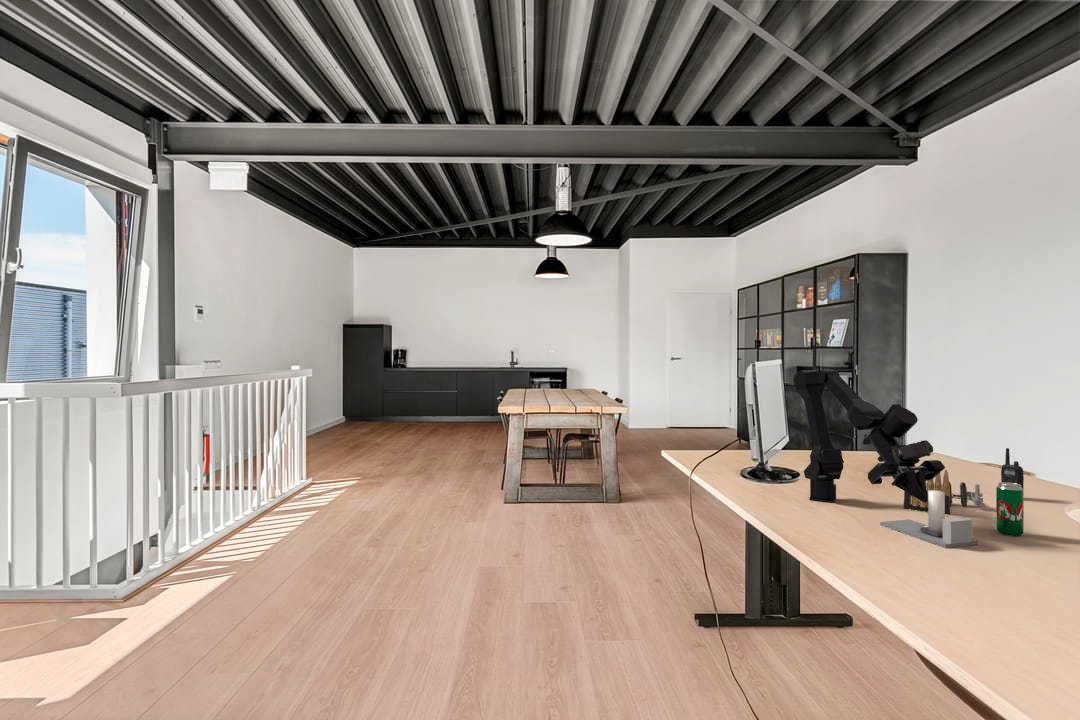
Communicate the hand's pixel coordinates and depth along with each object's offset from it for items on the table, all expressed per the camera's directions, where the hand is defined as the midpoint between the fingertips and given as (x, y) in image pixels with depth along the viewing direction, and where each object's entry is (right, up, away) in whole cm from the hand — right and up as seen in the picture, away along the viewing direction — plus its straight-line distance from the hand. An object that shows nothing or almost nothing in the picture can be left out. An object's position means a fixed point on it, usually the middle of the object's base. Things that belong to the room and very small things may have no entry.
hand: (927, 501), depth 137 cm
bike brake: (+29, -8, +32) cm, 44 cm away
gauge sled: (+2, -7, -2) cm, 7 cm away
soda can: (+20, -8, 0) cm, 22 cm away
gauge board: (0, -8, 0) cm, 8 cm away
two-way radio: (+49, -8, +34) cm, 61 cm away
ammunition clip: (+14, -8, +21) cm, 26 cm away
